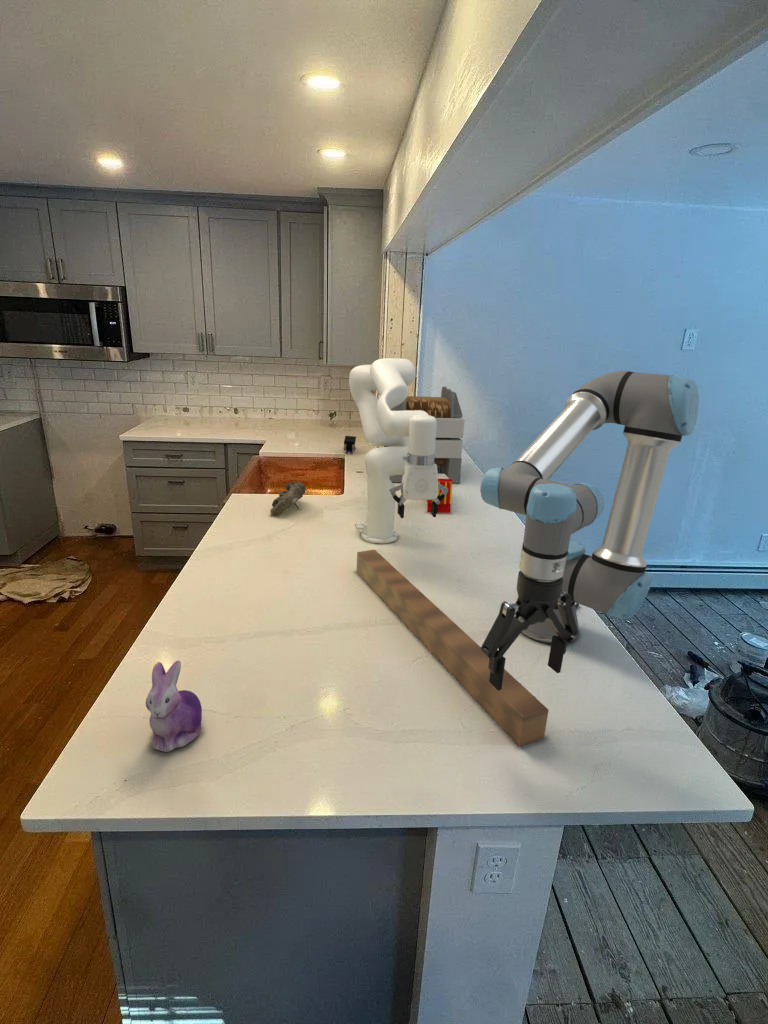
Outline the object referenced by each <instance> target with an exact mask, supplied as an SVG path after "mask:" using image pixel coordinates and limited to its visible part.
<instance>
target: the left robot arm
mask: <svg viewBox="0 0 768 1024" xmlns="http://www.w3.org/2000/svg"><path fill="white" fill-rule="evenodd" d="M416 375H417V374H416V367H415V366H414V363H413V362H412V361H411V360H409V359H407V358H397V357H396V358H395V357H394V358H390V357H386V358H385V357H383V358H379V359H376V360H374V361H373V362H372V363H371V364H361V365H356V366H354V367H353V368H352V369H351V370H350V372H349V376H348V386H349V391H350V394H351V396H352V399H353V401H354V403H355V405H356V407H357V409H358V413H359V417H360V423H361V428H362V432H363V436H364V439H365V442H366V443H367V444H368V445H369V446H371V447H374V448H371V449H369V451H368V452H367V453H366V455H365V460H364V462H365V469H366V478H367V479H366V480H367V484H366V486H367V488H366V490H367V491H366V519H365V520H366V521H364V522H362V521H355V522H354V527H355V529H356V530H361V534H360V535H361V538H362V539H363V540H364V541H366V542H368V543H373V544H389V543H393V542H395V541H397V540H398V537H399V534H398V532H397V531H396V530H395V528H394V527H395V510H396V509H395V508H396V507H395V506H396V503H397V515H399V517H400V519H404V518H405V502H406V501H423V500H425V501H427V500H430V499H433V501H432V505H431V512H430V515H431V516H432V517H433V518H437V515H438V514H439V513H438V504H440V502H441V501H442V500H443V499H444V498H445V495H446V494H447V492H448V489H447V488H446V487H444V486H442V485H440V484H439V483H438V474H439V472H438V468H437V465H436V464H435V463H434V457H435V442H436V428H437V421H436V418H435V417H433V416H429V415H428V414H427V413H426V412H425V411H421V410H412V411H411V410H408V411H392V410H390V409H391V408H393V407H396V406H397V405H399V404H401V403H402V402H403V401H404V400H405V399H406V398H407V396H409V386H411V385H412V384H413V383H414V382H415V379H416ZM372 391H373V392H374V391H377V392H378V393H379V395H380V396H379V397H377V396H376V395H375V394H374V393H373V392H372ZM390 445H395V446H396V447H384V446H390ZM394 475H402V482H399V483H398V484H397V485H395V484H394V482H391V480H390V478H389V476H394ZM438 489H440V490H442V492H441V494H439V495H438ZM398 491H400V495H399V496H398V495H397V492H398Z"/></svg>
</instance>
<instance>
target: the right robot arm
mask: <svg viewBox="0 0 768 1024" xmlns="http://www.w3.org/2000/svg"><path fill="white" fill-rule="evenodd" d="M699 396H700V395H699V388H698V385H697V383H696V382H695V381H694V380H693V379H692V378H688V377H684V376H678V375H674V374H660V373H648V372H637V371H631V370H630V371H629V370H617V371H616V370H615V371H611V372H608V373H607V372H606V373H604V374H602V375H599V376H597V377H594V378H593V379H591V380H589V381H586V383H584V384H582V385H581V386H579V387H578V388H576V390H575V391H573V392H572V393H571V394H570V396H568V398H567V399H566V400H565V402H564V408H563V409H562V411H561V412H560V413H559V414H558V415H557V416H555V418H554V419H553V420H552V421H551V422H550V423H549V424H548V425H547V427H546V428H544V429H543V430H542V432H540V434H539V435H537V437H536V438H535V439H534V440H533V441H532V442H531V443H530V444H529V445H528V447H526V448H525V449H524V450H523V451H522V453H521V454H519V456H518V457H516V459H515V460H514V461H513V462H512V463H511V464H510V465H509V466H508V467H507V468H506V469H505V468H504V467H491V468H489V469H488V470H486V472H485V473H484V475H483V477H482V478H481V482H480V488H479V489H480V490H479V492H480V497H481V499H482V501H483V502H484V503H486V504H487V505H489V506H493V507H495V508H498V509H499V510H505V511H507V512H508V511H509V512H513V513H516V514H518V515H519V514H520V515H523V516H525V525H524V526H525V527H524V534H523V541H522V547H521V553H520V558H519V566H518V569H519V571H518V575H517V580H516V581H517V582H516V592H517V598H516V601H515V603H509V602H508V601H505V600H504V601H502V603H501V604H500V609H499V612H498V615H497V617H496V619H495V620H494V622H493V624H492V626H491V627H490V630H489V632H488V633H487V635H486V637H485V639H484V641H483V643H482V644H481V645H480V647H481V651H482V652H483V653H484V654H485V655H486V656H487V657H488V658H489V665H488V668H489V670H490V679H489V682H490V683H491V684H492V685H493V686H494V687H495V688H496V689H497V690H501V689H502V682H503V674H504V669H505V667H506V660H507V659H506V657H505V654H506V653H507V652H508V650H509V649H510V647H511V646H512V645H513V643H514V642H516V640H517V639H518V637H519V636H520V635H521V634H522V635H524V636H526V637H527V638H529V639H531V640H534V641H536V642H540V643H543V644H549V645H550V650H549V654H548V655H549V656H548V661H547V667H549V668H550V669H551V670H553V671H554V672H555V673H556V674H560V673H561V671H562V666H563V660H564V655H565V654H566V652H567V647H568V644H572V643H573V642H574V640H576V638H577V637H578V635H579V620H578V614H577V610H576V609H577V608H578V607H579V606H580V605H581V606H584V607H586V608H589V609H592V610H595V611H597V612H599V613H601V614H605V615H606V616H608V617H613V618H616V619H620V620H624V621H625V620H626V621H627V620H629V619H631V618H632V617H634V616H635V615H636V613H638V611H639V609H640V608H641V606H642V605H643V603H644V602H645V600H646V597H647V595H648V593H649V592H650V589H651V586H652V580H653V577H652V575H651V574H649V572H646V570H647V566H648V563H647V562H646V560H645V558H644V557H643V552H644V548H645V545H646V542H647V541H646V540H647V537H648V535H649V530H650V526H651V523H652V519H653V515H654V511H655V508H656V503H657V500H658V497H659V493H660V489H661V486H662V482H663V478H664V474H665V471H666V467H667V463H668V460H669V457H670V452H671V450H672V449H674V448H675V447H677V446H679V445H680V444H681V443H682V442H681V441H682V438H683V437H685V436H686V437H687V436H690V435H692V433H693V432H694V429H695V426H696V423H697V419H698V413H699V407H700V405H699V404H700V402H699V401H700V398H699ZM604 424H615V425H621V426H624V427H623V432H622V435H623V436H624V437H625V439H626V441H627V445H626V446H627V447H626V449H625V454H624V457H623V461H622V466H621V469H620V473H619V477H618V480H617V484H616V485H617V486H616V488H615V493H614V495H613V496H614V497H613V500H612V505H611V509H610V512H609V516H608V520H607V524H606V528H605V532H604V535H603V538H602V539H603V540H602V543H601V545H600V546H599V547H596V548H595V549H593V550H592V554H591V555H589V554H586V547H585V546H584V544H582V543H580V542H578V541H574V540H571V536H572V535H573V534H574V533H576V532H578V531H580V530H581V529H584V528H585V527H589V526H590V525H591V524H593V523H594V522H595V521H596V520H597V519H599V518H600V516H601V515H602V513H603V512H604V509H605V499H604V495H603V494H602V491H601V490H600V489H599V488H598V487H597V486H596V485H593V484H592V483H589V482H581V483H580V482H578V483H574V484H566V483H562V482H559V481H555V480H550V479H551V478H552V476H553V475H554V474H555V473H556V472H557V471H558V470H559V468H561V466H562V465H563V464H564V463H565V461H567V459H568V458H569V457H570V456H571V454H573V452H574V451H575V450H576V449H577V448H578V447H579V446H580V445H581V443H582V442H583V441H584V440H585V439H586V438H587V436H588V435H589V434H591V432H593V431H596V430H598V429H600V428H602V426H603V425H604Z"/></svg>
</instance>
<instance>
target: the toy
mask: <svg viewBox="0 0 768 1024" xmlns="http://www.w3.org/2000/svg"><path fill="white" fill-rule="evenodd" d="M438 483H439V484H440V485H442V486H444V487H446V488H447V489H448V492H447V494H446V495H445V498H444V499H443V500H442V501H441V502H440V504H438V513H437V514H439V513H440V514H451V509H452V497H453V496H452V495H453V493H452V492H453V483H452V479H449V478H448V477H447V476H446V475H445V474H441V473H438ZM441 492H442V490H440V489H438V495H439V494H441ZM426 501H427V508H426V513H431V505H432V501H433V499H430V500H426Z"/></svg>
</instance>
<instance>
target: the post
mask: <svg viewBox="0 0 768 1024" xmlns="http://www.w3.org/2000/svg"><path fill="white" fill-rule="evenodd" d="M356 573H357V574H358V575H359V576H360V577H361V579H363V580H364V582H365V583H366V584H367V585H368V586H369V587H370V588H371V589H372V590H373V591H374V592H375V593H376V595H377V596H378V597H379V598H380V599H381V600H382V601H383V603H385V604H386V606H388V607H389V609H390V610H391V611H392V612H393V613H394V614H395V615H396V616H397V617H398V618H399V619H400V620H401V622H403V623H404V625H405V626H406V627H407V628H408V629H409V630H410V631H411V632H412V634H413V635H415V637H416V638H417V639H418V640H419V641H420V642H421V643H422V644H423V645H424V646H425V647H426V648H427V649H428V650H429V652H431V654H432V655H433V656H434V657H435V658H436V659H437V660H438V661H439V663H440V664H442V665H443V667H445V668H446V670H447V671H448V672H449V673H450V674H451V675H452V676H453V677H454V678H455V679H456V681H458V683H460V684H461V686H462V687H463V688H464V689H465V691H467V692H468V693H469V694H470V696H472V697H473V698H474V700H475V701H476V702H477V703H478V705H480V706H481V707H482V708H483V710H485V712H486V713H487V714H488V715H489V716H490V717H491V718H492V719H493V720H494V722H496V723H497V725H498V726H499V727H500V728H501V729H502V730H503V731H504V732H505V733H506V734H507V735H508V736H509V737H510V738H511V740H512V741H513V742H514V743H515V744H516V745H517V746H518V747H522V746H525V745H528V744H531V743H534V742H536V741H539V740H543V739H544V738H545V733H546V727H547V722H548V716H549V708H547V707H546V706H545V705H544V704H543V703H542V702H541V701H540V700H539V699H538V698H536V697H535V696H534V695H533V694H532V693H531V692H530V691H529V690H528V689H527V688H526V687H525V686H524V685H522V683H521V682H519V681H518V680H517V679H516V678H515V677H514V676H513V675H512V674H510V672H508V671H507V669H506V668H504V674H503V682H502V689H501V690H497V689H496V688H495V687H494V686H493V685H492V684H491V683H490V682H489V679H490V670H489V668H488V665H489V658H488V657H487V656H486V655H485V654H484V653H483V652H482V651H481V645H480V644H478V643H477V642H476V641H475V640H474V639H473V638H472V637H470V635H468V634H467V632H465V631H464V630H463V629H462V628H460V627H459V626H458V625H457V623H455V622H454V621H453V620H452V619H451V618H450V617H448V615H447V614H445V613H444V611H442V610H441V609H440V608H439V607H438V606H437V605H435V603H433V602H432V601H431V600H430V599H429V598H428V597H427V596H426V595H425V594H424V593H423V592H422V591H421V590H420V589H419V588H417V587H416V586H415V585H414V584H413V583H412V582H411V581H410V580H409V579H408V578H406V576H404V575H403V574H402V573H401V572H400V571H399V570H398V569H396V568H395V567H394V566H393V565H392V564H391V563H390V562H389V561H388V560H386V558H385V557H384V556H382V555H381V553H379V552H378V551H377V550H376V549H369V550H361V551H356Z"/></svg>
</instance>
